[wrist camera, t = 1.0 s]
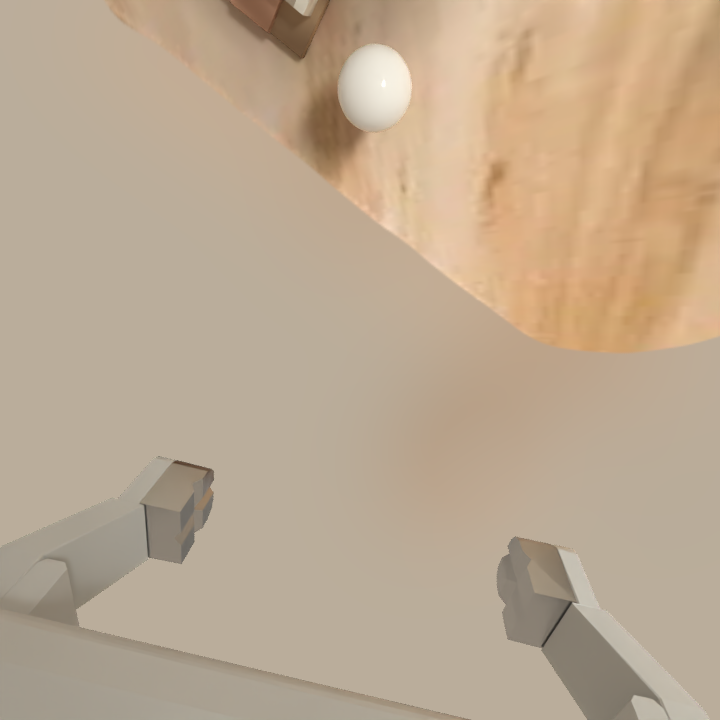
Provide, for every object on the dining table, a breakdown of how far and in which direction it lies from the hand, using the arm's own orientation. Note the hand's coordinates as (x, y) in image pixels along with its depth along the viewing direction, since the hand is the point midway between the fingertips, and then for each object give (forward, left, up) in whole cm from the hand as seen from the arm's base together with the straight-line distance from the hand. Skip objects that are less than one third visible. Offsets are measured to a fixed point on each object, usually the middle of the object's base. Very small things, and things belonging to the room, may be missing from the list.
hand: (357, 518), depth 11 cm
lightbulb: (-3, -8, -44) cm, 44 cm away
